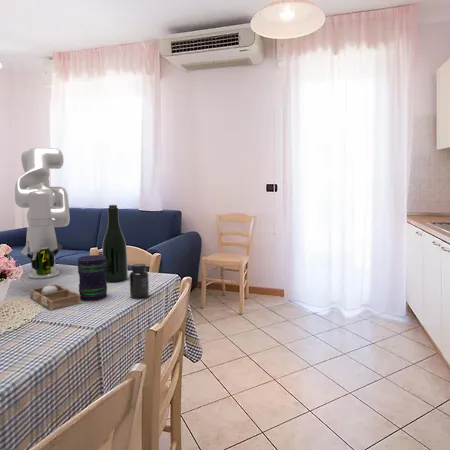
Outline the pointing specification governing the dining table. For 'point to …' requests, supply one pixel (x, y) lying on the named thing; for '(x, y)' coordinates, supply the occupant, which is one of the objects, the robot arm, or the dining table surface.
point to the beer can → (43, 262)
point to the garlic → (49, 289)
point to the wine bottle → (114, 248)
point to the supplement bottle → (139, 282)
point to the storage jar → (92, 277)
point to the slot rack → (55, 297)
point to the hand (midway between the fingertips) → (43, 267)
